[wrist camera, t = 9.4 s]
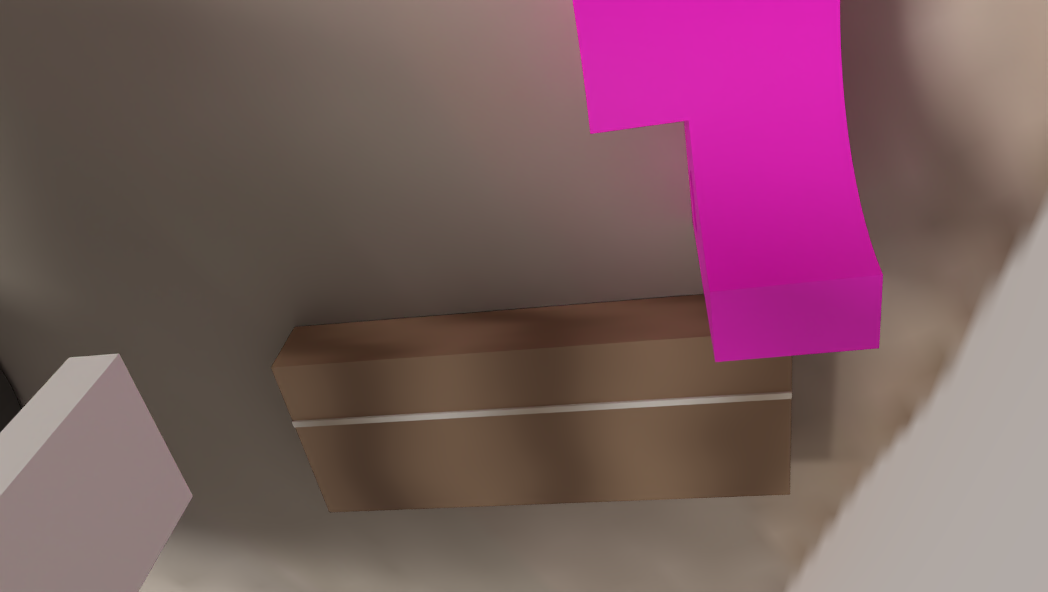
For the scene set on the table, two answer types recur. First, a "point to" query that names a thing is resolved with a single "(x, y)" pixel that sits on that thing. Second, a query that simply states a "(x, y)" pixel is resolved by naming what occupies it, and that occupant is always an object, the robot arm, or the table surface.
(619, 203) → the table surface
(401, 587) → the table surface
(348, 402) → the brown flat bar
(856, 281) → the toy block
